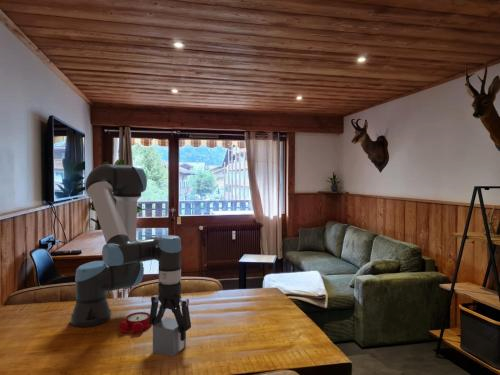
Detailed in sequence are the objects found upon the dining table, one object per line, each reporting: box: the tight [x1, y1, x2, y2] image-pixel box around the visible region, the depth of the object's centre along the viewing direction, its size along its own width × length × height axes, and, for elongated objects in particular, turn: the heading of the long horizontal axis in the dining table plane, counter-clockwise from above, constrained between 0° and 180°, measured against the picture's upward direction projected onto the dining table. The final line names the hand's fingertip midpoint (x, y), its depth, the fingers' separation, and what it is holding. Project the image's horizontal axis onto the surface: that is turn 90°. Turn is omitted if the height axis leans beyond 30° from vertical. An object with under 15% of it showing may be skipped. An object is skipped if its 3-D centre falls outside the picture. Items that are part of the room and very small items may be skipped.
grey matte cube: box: [152, 316, 187, 358], centre depth 116 cm, size 8×8×9 cm
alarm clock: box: [119, 311, 153, 334], centre depth 132 cm, size 10×6×15 cm
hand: (169, 346), depth 116 cm, fingers closed on grey matte cube, 8 cm apart
